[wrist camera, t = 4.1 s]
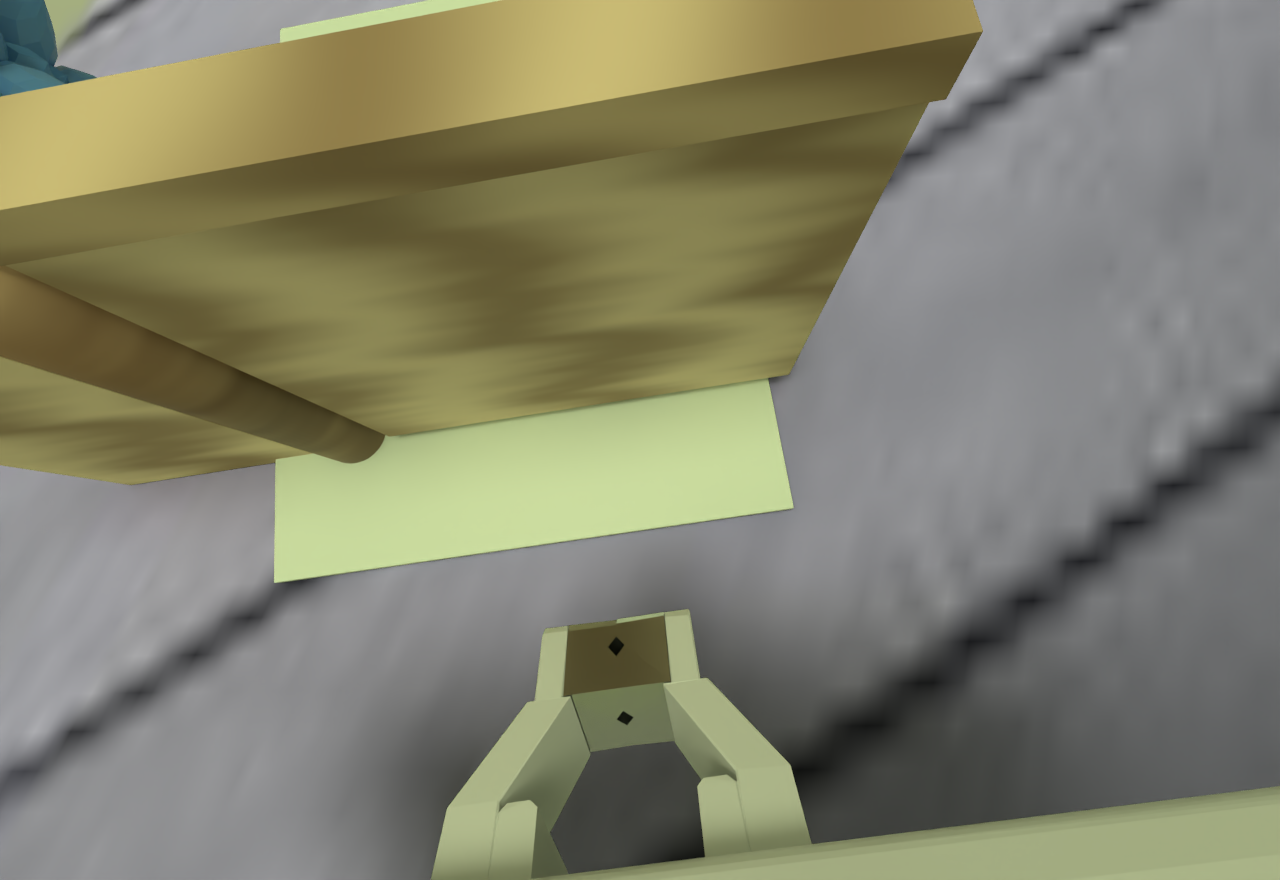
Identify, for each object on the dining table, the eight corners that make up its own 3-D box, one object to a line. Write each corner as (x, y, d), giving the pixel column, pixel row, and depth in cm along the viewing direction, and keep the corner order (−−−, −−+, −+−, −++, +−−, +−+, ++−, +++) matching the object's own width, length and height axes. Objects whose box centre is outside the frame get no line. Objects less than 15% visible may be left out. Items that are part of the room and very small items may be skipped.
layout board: (683, -40, 25) (683, -52, 24) (791, 508, 19) (794, 507, 19) (286, 37, 26) (278, 27, 25) (282, 582, 20) (272, 582, 20)
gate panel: (780, 333, 20) (943, -86, 7) (790, 382, 19) (982, 32, 7) (387, 396, 20) (-99, 115, 8) (389, 444, 20) (-121, 231, 7)
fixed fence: (390, 398, 22) (-235, 36, 7) (393, 460, 21) (-280, 211, 6) (133, 438, 22) (-953, 182, 7) (129, 500, 21) (-1052, 355, 7)
